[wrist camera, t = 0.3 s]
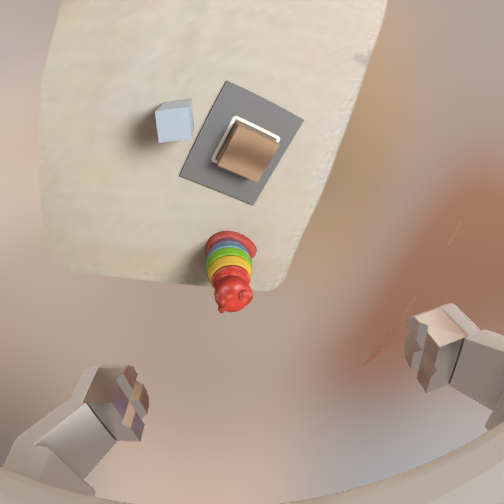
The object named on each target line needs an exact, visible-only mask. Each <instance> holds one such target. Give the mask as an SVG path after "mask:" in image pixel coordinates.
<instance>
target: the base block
mask: <svg viewBox="0 0 504 504" xmlns="http://www.w3.org/2000/svg"><path fill="white" fill-rule="evenodd" d="M278 147H279V144H278V143H277V142H276V140H275V139H273V138H271V137H269V136H267V135H265V134H263V133H261V132H259V131H256V130H254V129H252V128H250V127H248V126H246V125H244V124H242V123H240V122H237V121H236V123H235V125H234V127H233V129H232V131H231V132H230V134H229V136H228V138H227V140H226V142H225V144H224V146H223V148H222V149H221V151H220V153H219V155H218V157H217V164H218V166H220V167H222V168H225V169H227V170H229V171H232V172H234V173H237V174H239V175H241V176H243V177H246V178H248V179H250V180H253V181H255V182H257V183H258V181H259V180H260V178H261V176H262V174H263V173H264V171H265V169H266V168H267V166H268V164H269V162H270V161H271V159H272V157H273V156H274V154H275V152H276V151H277V149H278Z"/></svg>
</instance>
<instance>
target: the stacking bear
mask: <svg viewBox="0 0 504 504" xmlns="http://www.w3.org/2000/svg"><path fill="white" fill-rule="evenodd" d="M256 252H257V249H256V246H255V245H254V243H253V242H252V241H251V240H250V239H248V238H247V237H245V236H244V235H242V234H239V233H237V232H233V231H222V232H219V233H217V234H215V235H213V236H212V237H211V238H210V239H209V241H208V242H207V245H206V254H207V259H206V272H207V276H208V278H209V281H210V283H211V285H212V287H213V288H214V289H215V300H216V303H217V304H218V306H219V307H218V310H219V312H220V313H224V312H225V311H228V312H237V311H239V310H241V309H242V308H244V307H245V306H247V305H248V304H249V303H250V302H251V300H252V298H253V294H252V290H251V288H250V286H249V283H250V279H251V272H252V262H251V259H252V258H253V257H254V256H255V255H256Z"/></svg>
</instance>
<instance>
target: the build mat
mask: <svg viewBox="0 0 504 504" xmlns="http://www.w3.org/2000/svg"><path fill="white" fill-rule="evenodd" d="M236 121H237V122H240V123H242V124H244V125H246V126H248V127H250V128H252V129H254V130H256V131H259V132H261V133H263V134H265V135H267V136H269V137H271V138H273V139H275V140H276V142H277V143H278V144H279V147H278V149H277V151H276V152H275V154H274V156H273V157H272V159H271V161H270V162H269V164H268V166H267V168H266V169H265V171H264V173H263V174H262V176H261V178H260V180H259V181H258V183H257V182H255V181H253V180H250V179H248V178H246V177H243V176H241V175H239V174H237V173H234V172H232V171H229V170H227V169H225V168H222V167H220V166H218V164H217V157H218V155H219V153H220V151H221V149H222V148H223V146H224V144H225V142H226V140H227V138H228V136H229V134H230V132H231V131H232V129H233V127H234V125H235V123H236ZM303 121H304V120H303V119H301V118H299V117H298V116H296V115H294V114H292V113H290V112H289V111H287V110H285V109H283V108H281V107H279V106H277V105H276V104H274V103H272V102H270V101H268V100H266V99H264V98H262V97H260V96H258V95H256V94H254V93H252V92H250V91H248V90H246V89H244V88H242V87H240V86H237V85H235V84H233V83H231V82H229V81H226V83H225V85H224V87H223V89H222V90H221V92H220V94H219V96H218V98H217V100H216V102H215V104H214V105H213V107H212V109H211V111H210V113H209V115H208V117H207V119H206V121H205V123H204V125H203V127H202V129H201V131H200V133H199V135H198V137H197V139H196V141H195V143H194V146H193V148H192V150H191V152H190V154H189V156H188V158H187V161H186V163H185V165H184V167H183V169H182V171H181V174H180V176H181V177H184V178H186V179H189V180H192V181H194V182H197V183H199V184H202V185H204V186H207V187H209V188H212V189H215V190H217V191H220V192H222V193H224V194H227V195H229V196H232V197H234V198H237V199H239V200H242V201H244V202H247V203H249V204H251V205H254V203H255V201H256V200H257V198H258V196H259V195H260V193H261V191H262V190H263V188H264V186H265V184H266V183H267V181H268V179H269V178H270V176H271V174H272V173H273V171H274V169H275V168H276V166H277V164H278V163H279V161H280V159H281V158H282V156H283V154H284V153H285V151H286V149H287V148H288V146H289V144H290V143H291V141H292V139H293V138H294V136H295V134H296V133H297V131H298V129H299V128H300V126H301V124H302V123H303Z"/></svg>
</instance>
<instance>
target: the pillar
mask: <svg viewBox="0 0 504 504" xmlns="http://www.w3.org/2000/svg"><path fill="white" fill-rule="evenodd" d="M155 118H156V126H157V133H158V140H159V143H163V142H170V141H177V140H185V139H192V133H193V127H194V121H193V110H192V99H186V100H178V101H171V102H164V103H163V104H162V105H161V106H160V107H159V108H158V109H157V110H156V111H155Z"/></svg>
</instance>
